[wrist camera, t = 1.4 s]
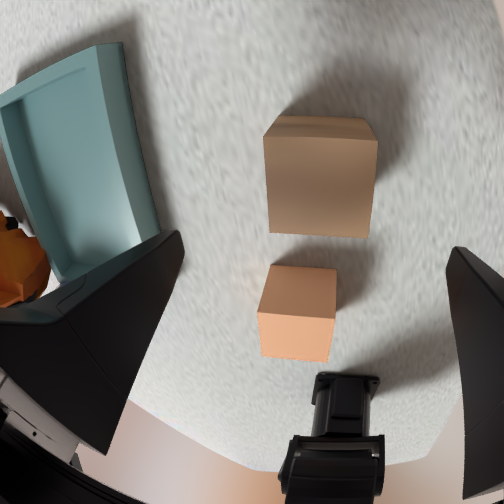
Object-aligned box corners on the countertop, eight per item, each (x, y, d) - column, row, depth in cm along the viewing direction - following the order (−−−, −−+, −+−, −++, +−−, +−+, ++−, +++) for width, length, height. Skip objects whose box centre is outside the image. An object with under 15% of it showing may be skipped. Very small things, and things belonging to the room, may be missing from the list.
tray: (175, 279, 24) (162, 301, 22) (73, 266, 27) (59, 282, 25) (121, 42, 13) (95, 44, 12) (14, 91, 16) (-8, 100, 14)
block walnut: (359, 194, 17) (367, 238, 13) (282, 190, 18) (269, 232, 14) (364, 118, 14) (378, 141, 10) (278, 115, 15) (262, 136, 11)
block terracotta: (330, 314, 23) (327, 362, 19) (273, 309, 24) (261, 356, 20) (336, 268, 20) (335, 319, 17) (270, 264, 21) (257, 312, 18)
